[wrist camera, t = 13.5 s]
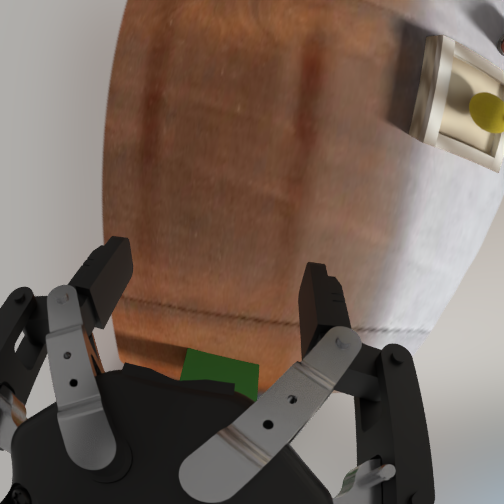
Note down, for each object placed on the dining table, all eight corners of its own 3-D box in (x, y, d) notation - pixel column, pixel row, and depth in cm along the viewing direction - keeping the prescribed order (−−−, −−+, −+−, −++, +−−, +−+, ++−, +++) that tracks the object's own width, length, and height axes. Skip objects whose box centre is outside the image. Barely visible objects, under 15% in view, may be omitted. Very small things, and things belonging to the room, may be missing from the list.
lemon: (456, 89, 27) (491, 98, 21) (483, 88, 26) (518, 98, 19) (461, 126, 30) (494, 142, 24) (487, 123, 29) (520, 139, 22)
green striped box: (259, 364, 68) (252, 456, 48) (250, 378, 72) (243, 463, 52) (187, 347, 66) (165, 439, 46) (184, 363, 70) (164, 447, 50)
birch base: (424, 36, 27) (443, 34, 22) (499, 78, 27) (519, 82, 22) (406, 133, 36) (423, 143, 31) (480, 161, 36) (498, 173, 31)
